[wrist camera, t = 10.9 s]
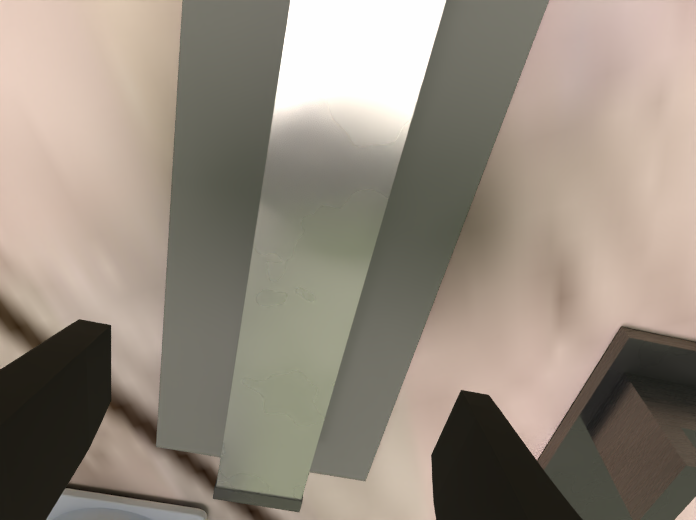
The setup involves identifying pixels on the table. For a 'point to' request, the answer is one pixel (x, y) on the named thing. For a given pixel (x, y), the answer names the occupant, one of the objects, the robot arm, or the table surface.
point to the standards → (630, 433)
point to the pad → (244, 198)
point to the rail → (317, 228)
